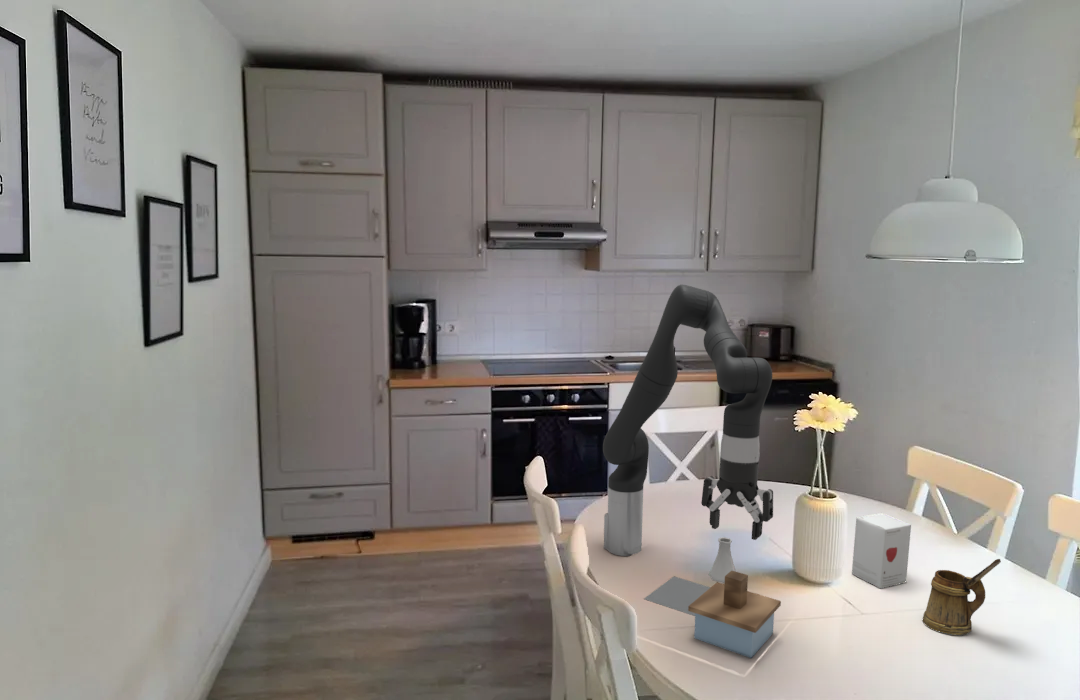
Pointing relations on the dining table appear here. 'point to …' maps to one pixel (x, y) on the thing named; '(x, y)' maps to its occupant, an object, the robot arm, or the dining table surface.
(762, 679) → the dining table surface
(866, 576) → the supplement box
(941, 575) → the wooden mug
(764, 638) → the blue storage bin
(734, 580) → the walnut lid
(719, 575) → the flask
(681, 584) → the rubber mat
